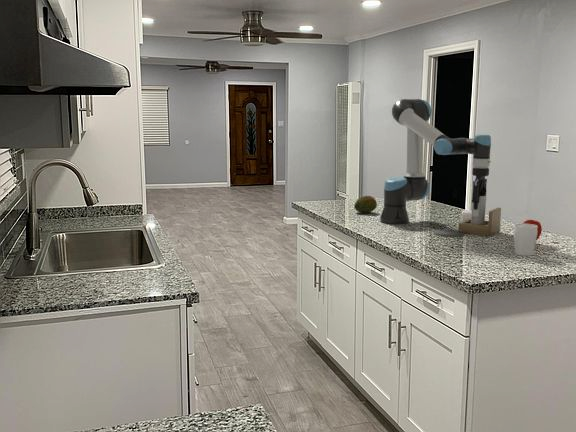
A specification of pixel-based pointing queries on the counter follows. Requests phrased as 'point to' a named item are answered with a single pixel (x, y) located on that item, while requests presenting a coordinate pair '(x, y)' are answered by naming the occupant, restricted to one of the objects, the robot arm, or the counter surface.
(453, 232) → the mat
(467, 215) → the mug
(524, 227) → the cup
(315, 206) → the counter surface
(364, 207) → the fruit
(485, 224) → the brown wooden open box
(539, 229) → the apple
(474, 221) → the travel mug
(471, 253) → the counter surface
